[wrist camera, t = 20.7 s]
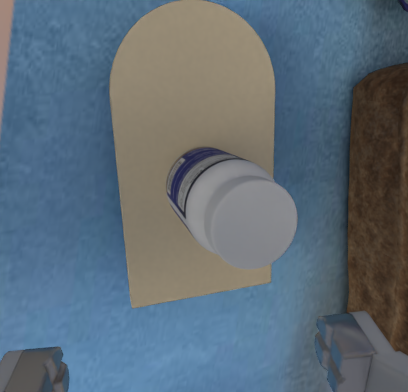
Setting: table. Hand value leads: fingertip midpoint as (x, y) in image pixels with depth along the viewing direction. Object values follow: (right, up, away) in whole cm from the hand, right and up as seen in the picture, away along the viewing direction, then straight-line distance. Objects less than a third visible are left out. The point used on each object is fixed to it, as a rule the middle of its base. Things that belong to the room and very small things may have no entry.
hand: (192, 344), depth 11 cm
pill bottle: (0, +6, +15) cm, 16 cm away
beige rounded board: (-1, +7, +20) cm, 21 cm away
